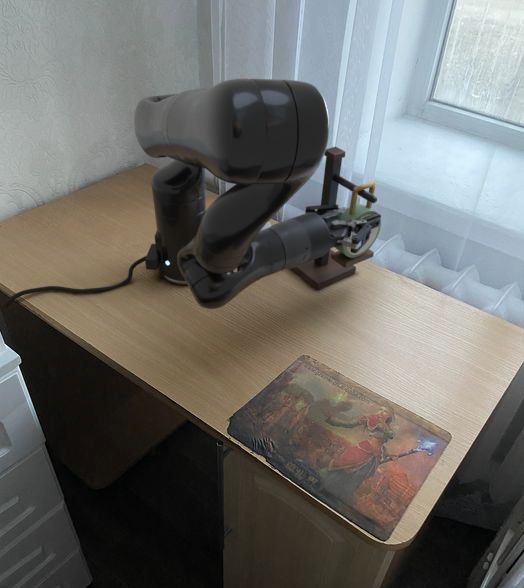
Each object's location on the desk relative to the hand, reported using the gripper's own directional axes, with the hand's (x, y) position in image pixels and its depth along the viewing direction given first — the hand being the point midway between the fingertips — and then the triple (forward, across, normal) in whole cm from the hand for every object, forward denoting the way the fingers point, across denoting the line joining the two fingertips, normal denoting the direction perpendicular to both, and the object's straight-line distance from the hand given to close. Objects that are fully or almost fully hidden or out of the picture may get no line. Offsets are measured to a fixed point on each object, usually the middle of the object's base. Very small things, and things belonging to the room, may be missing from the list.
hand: (370, 214), depth 95 cm
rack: (-3, +5, +15) cm, 16 cm away
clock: (-3, 0, +8) cm, 8 cm away
